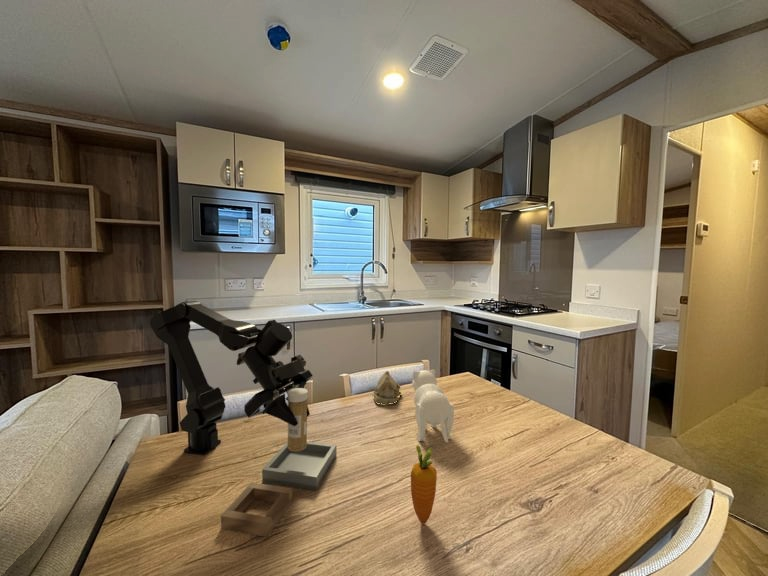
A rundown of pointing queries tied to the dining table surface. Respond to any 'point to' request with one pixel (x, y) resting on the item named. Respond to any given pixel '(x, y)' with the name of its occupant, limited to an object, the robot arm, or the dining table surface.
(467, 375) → the dining table surface
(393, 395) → the ceramic model
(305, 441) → the sprinkles bottle
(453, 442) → the dining table surface
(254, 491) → the holder collar
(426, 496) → the carrot
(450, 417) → the cat figurine
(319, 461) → the tray
